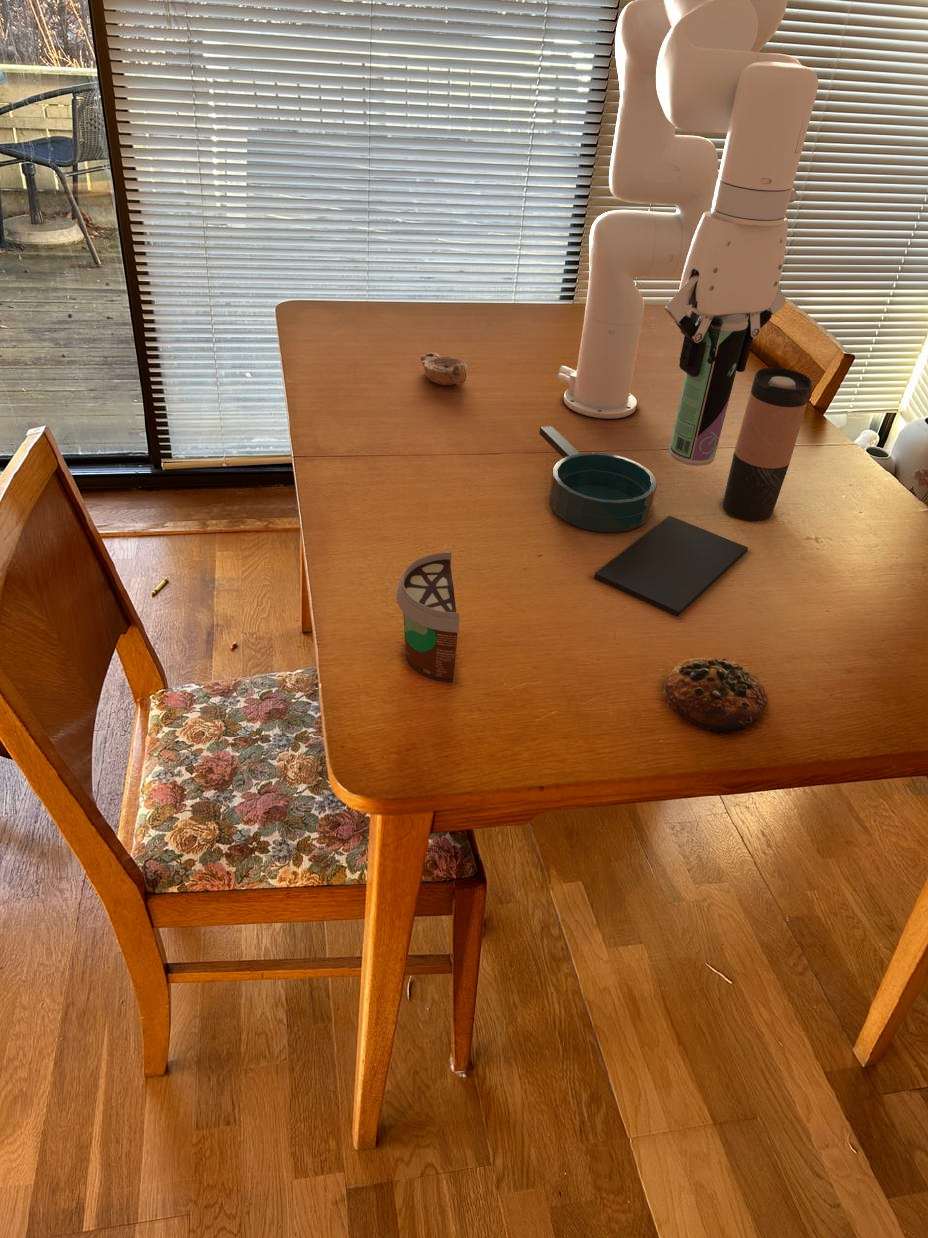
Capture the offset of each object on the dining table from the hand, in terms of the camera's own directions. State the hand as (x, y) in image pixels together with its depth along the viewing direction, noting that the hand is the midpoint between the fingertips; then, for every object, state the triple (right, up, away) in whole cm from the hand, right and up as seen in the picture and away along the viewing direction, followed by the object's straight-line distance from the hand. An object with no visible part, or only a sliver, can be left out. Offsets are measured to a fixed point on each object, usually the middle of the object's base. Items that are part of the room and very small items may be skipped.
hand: (711, 368), depth 107 cm
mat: (-1, -22, +15) cm, 26 cm away
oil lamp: (-32, +13, +59) cm, 68 cm away
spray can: (-1, -9, +7) cm, 11 cm away
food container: (-33, -33, -3) cm, 47 cm away
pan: (-9, -13, +26) cm, 30 cm away
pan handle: (-14, -3, +34) cm, 36 cm away
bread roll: (-2, -38, -6) cm, 38 cm away
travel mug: (+13, -13, +28) cm, 34 cm away
